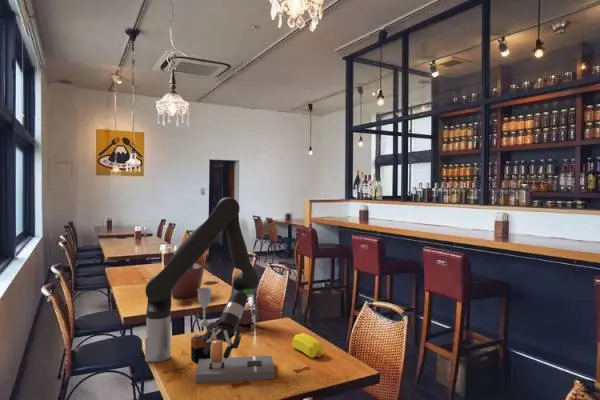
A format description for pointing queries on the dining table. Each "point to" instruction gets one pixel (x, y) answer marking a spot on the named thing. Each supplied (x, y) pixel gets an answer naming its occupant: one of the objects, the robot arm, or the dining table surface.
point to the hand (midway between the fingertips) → (214, 355)
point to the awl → (216, 354)
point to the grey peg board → (236, 369)
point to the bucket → (188, 283)
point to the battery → (198, 348)
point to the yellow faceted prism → (307, 345)
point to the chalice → (204, 303)
